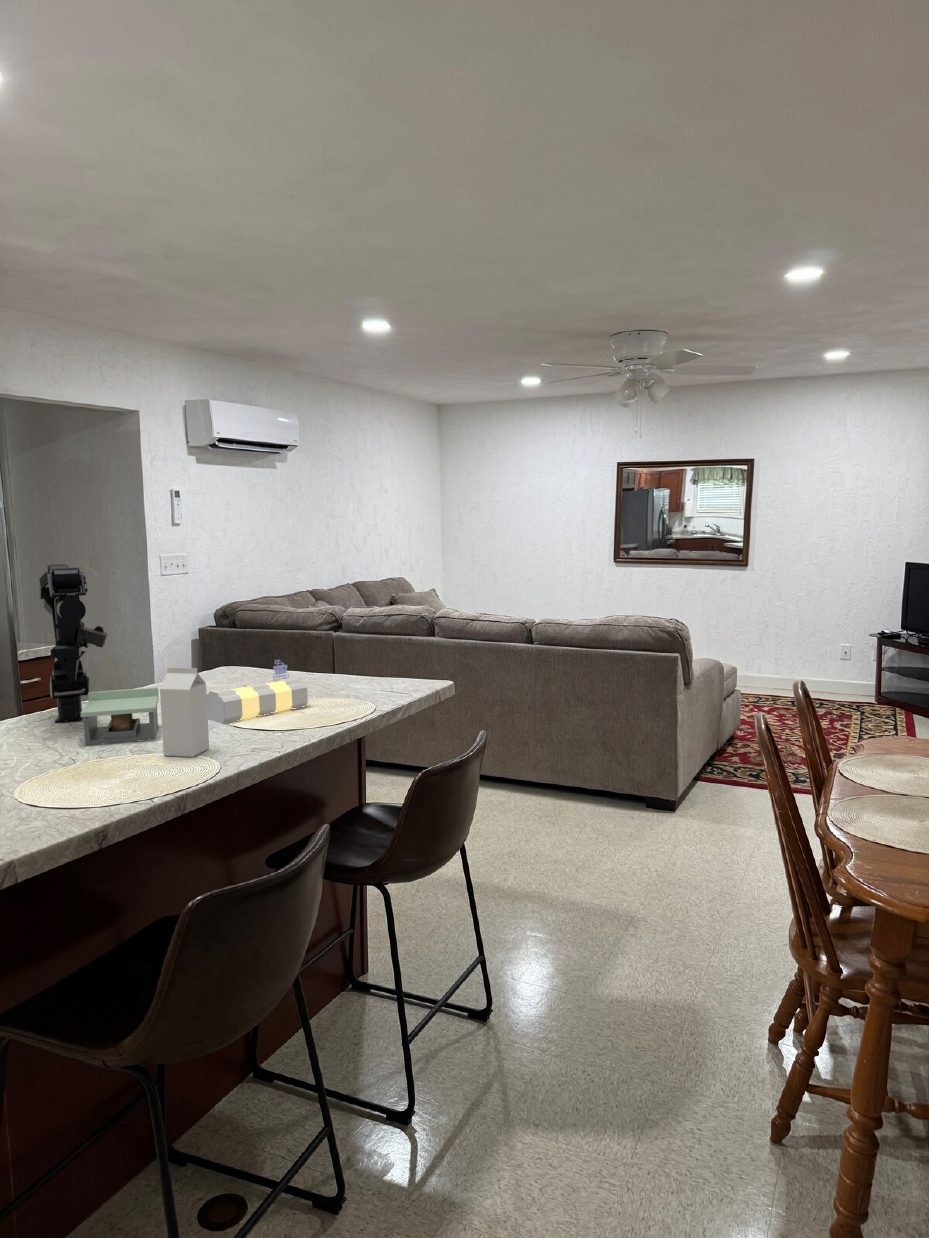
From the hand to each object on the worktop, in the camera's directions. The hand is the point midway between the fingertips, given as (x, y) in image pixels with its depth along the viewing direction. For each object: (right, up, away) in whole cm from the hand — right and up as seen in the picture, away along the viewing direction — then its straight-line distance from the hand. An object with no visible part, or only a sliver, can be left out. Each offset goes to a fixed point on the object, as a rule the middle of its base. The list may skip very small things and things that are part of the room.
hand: (73, 681), depth 208 cm
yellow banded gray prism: (+42, -10, +16) cm, 46 cm away
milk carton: (+36, -14, -22) cm, 44 cm away
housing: (+15, -13, -6) cm, 20 cm away
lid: (+15, -6, -7) cm, 17 cm away
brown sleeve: (+16, -12, -9) cm, 22 cm away
